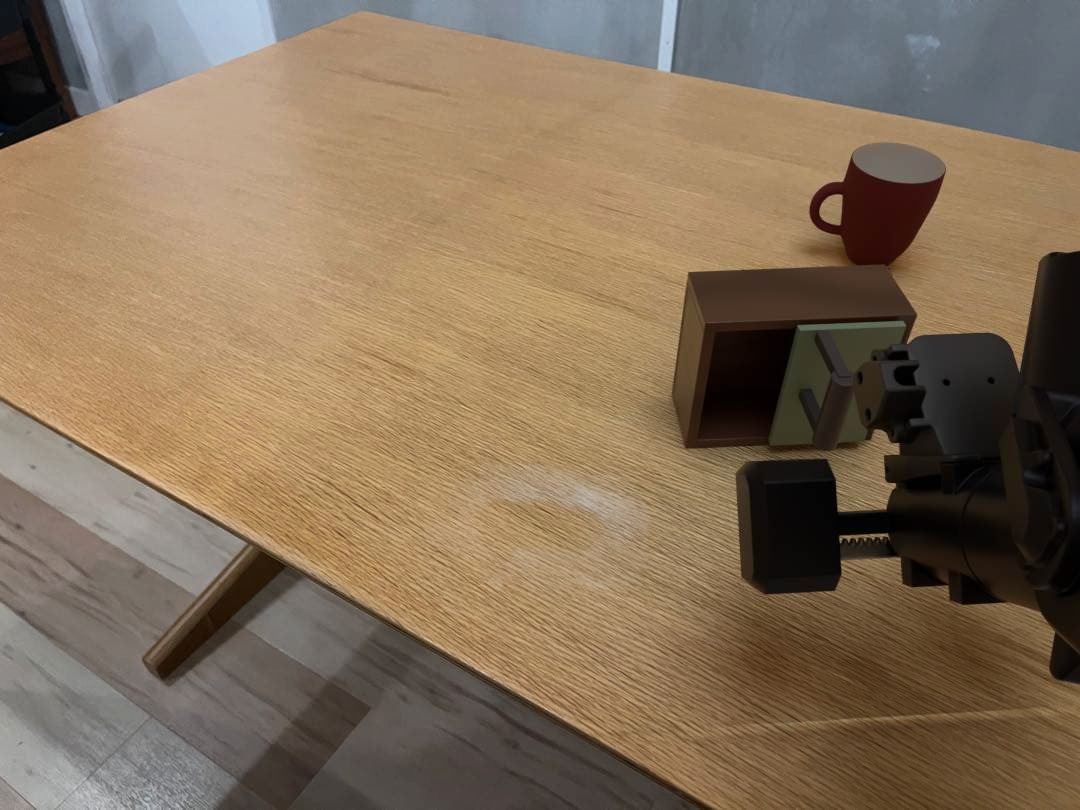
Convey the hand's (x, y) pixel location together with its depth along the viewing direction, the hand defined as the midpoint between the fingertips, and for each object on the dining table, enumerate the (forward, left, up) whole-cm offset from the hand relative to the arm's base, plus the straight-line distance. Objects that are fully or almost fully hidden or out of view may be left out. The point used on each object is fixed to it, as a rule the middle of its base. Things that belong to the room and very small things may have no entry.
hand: (861, 505), depth 48 cm
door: (+9, +1, -6) cm, 11 cm away
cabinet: (+14, +5, -7) cm, 16 cm away
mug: (+39, -1, -7) cm, 39 cm away
